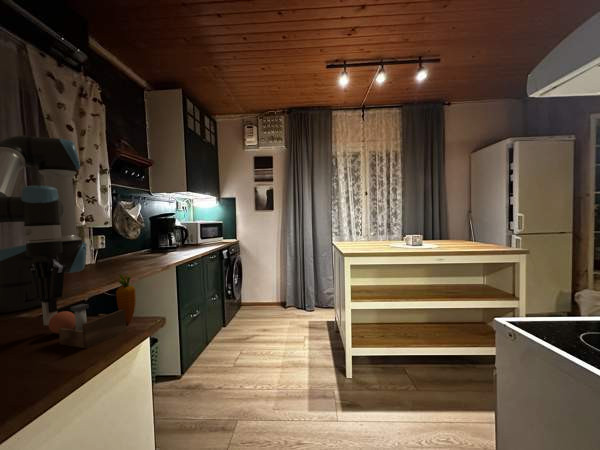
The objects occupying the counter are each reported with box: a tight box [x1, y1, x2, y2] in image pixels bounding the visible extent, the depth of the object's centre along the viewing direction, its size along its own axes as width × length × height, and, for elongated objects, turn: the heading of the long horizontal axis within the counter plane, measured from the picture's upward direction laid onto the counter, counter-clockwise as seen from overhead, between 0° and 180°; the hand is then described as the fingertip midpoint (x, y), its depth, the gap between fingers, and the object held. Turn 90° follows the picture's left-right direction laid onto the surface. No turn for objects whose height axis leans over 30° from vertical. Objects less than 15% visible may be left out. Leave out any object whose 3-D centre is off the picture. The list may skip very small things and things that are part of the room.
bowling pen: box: [58, 309, 127, 349], centre depth 74 cm, size 10×11×6 cm
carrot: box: [115, 274, 137, 325], centre depth 82 cm, size 5×5×15 cm
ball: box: [48, 310, 76, 335], centre depth 78 cm, size 6×6×6 cm
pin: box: [70, 303, 90, 331], centre depth 76 cm, size 3×3×8 cm
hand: (51, 323), depth 79 cm, fingers closed
